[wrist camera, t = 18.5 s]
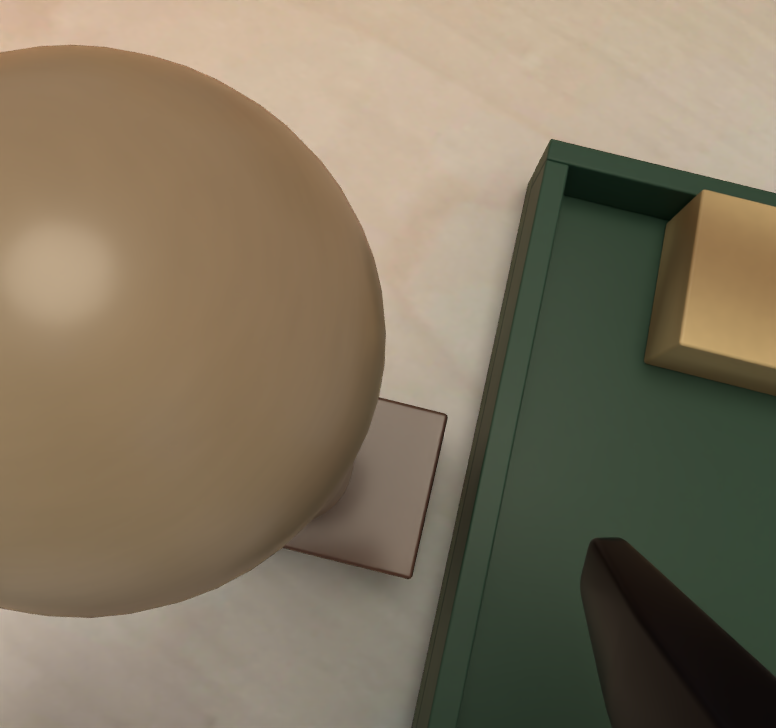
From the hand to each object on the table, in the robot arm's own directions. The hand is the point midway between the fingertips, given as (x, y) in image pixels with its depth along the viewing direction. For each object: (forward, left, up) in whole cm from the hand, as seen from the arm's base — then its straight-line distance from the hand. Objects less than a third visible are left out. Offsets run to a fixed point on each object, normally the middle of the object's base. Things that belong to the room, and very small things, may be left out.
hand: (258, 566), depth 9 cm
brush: (+2, +1, -8) cm, 8 cm away
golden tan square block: (+8, -9, -7) cm, 14 cm away
